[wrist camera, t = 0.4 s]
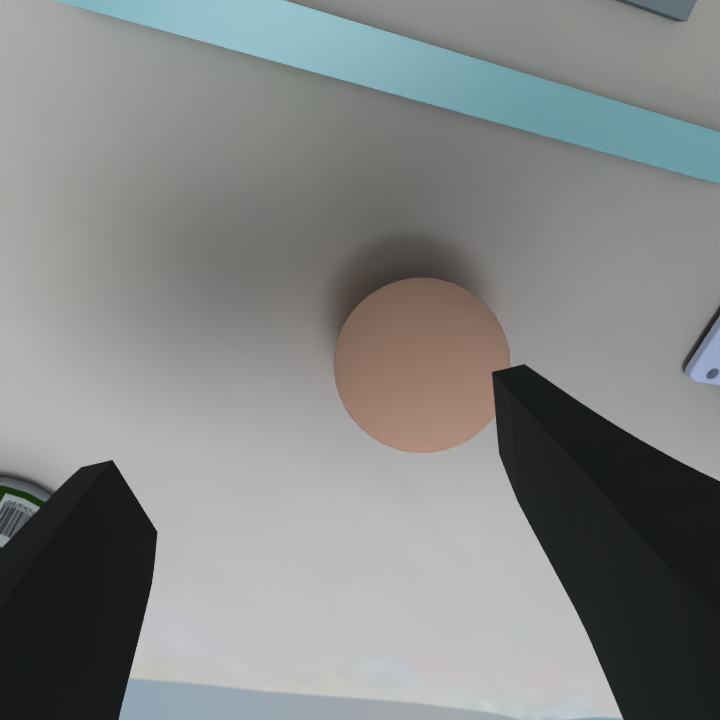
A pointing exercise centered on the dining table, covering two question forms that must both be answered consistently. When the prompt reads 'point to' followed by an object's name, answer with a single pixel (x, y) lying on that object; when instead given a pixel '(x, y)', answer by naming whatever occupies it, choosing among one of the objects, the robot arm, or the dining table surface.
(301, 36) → the acrylic wall
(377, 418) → the ball
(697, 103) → the dining table surface
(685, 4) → the rubber mat
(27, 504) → the beer can
